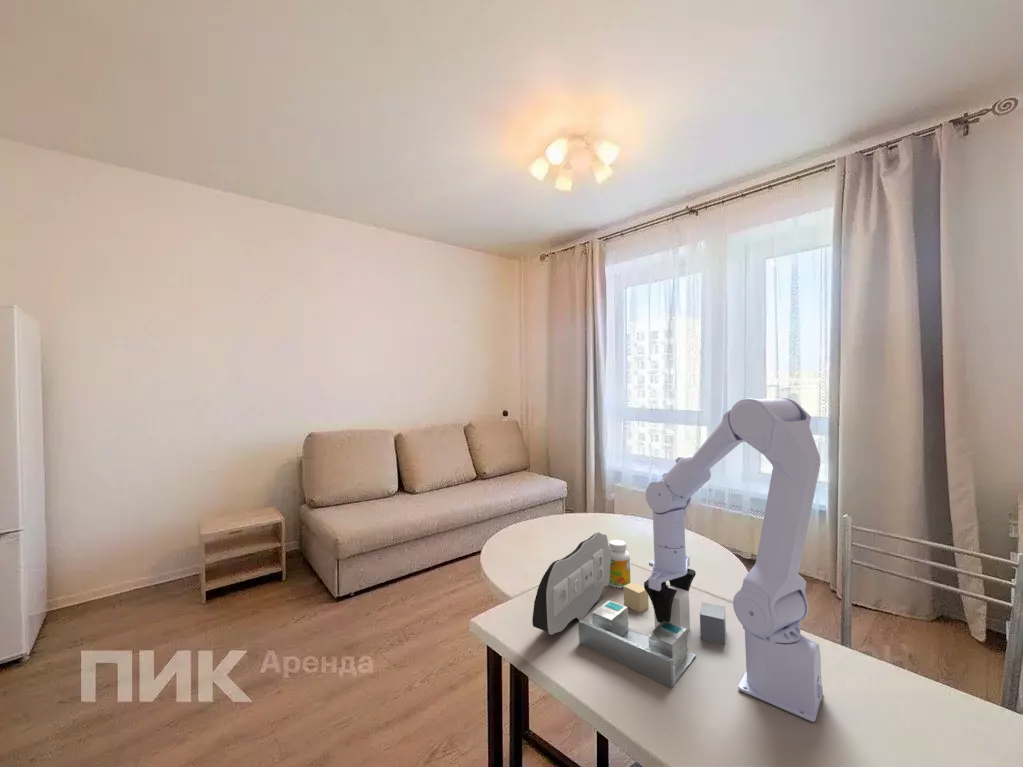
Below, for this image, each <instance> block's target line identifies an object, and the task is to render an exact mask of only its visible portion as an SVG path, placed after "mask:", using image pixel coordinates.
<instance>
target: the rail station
mask: <svg viewBox="0 0 1023 767" xmlns="http://www.w3.org/2000/svg"><path fill="white" fill-rule="evenodd" d="M628 609H629V607H628V606H626V605H624V604H621V603H618V602H615V601H612V600H606V602H604V603H603V604H602V605H600V606H599V607H597V608H596V609H594V610H593V611H591V617H592V618H591V619H592V623H590V622H587V621H585V620H583V619H582V620H578V644H579V645H582V646H583V647H585V648H587V649H589V650H592V651H593V652H596V653H597V654H600V655H602V656H603V657H606V658H608V659H610V660H613V661H614V662H616V663H618V664H620V665H622V666H625V667H627V668H629V669H631V670H633V671H635V672H637V673H638V674H641V675H643V676H645V677H648V678H650V679H651V680H654V681H656V682H658V683H659V684H662V685H665V686H666V687H668V688H670V689H673V687H674V686H675V685H676V684H677V682H678V681H679V680H680V679H681V677H682V676H683V674H684V673H685V672H686V671H687V669H688V668H689V667H690V665H691V664H692V663H693V662H694V660H695V659H696V656H697V655H696V654H693V653H692V652H688V635H687V634H688V633H687V632H688V631H687V629H686V628H683V627H680V626H678V625H675V624H672V623H669V622H667V621H663V622H662V623H660V624H659V625H658V626H657V627H656V628H655V627H654V629H653V630H652V631H651V632H650V633H649V634H645V633H642V632H639V631H638V630H635V629H633V628H630V627H629V610H628Z"/></svg>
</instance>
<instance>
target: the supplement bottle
mask: <svg viewBox="0 0 1023 767" xmlns="http://www.w3.org/2000/svg"><path fill="white" fill-rule="evenodd" d="M608 545H609V548H610V551H611V565H610V580H609V585H608V586H610V587H612V586H613V587H612V588H616V587H617V589H623V588H622V587H624V586H625V585H627V584H629V583H632V582H631V558H630V557H631V556H630V553H629V552H628V550H627V542H626V541H625V540H621V539H611V540H609V541H608Z"/></svg>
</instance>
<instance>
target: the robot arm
mask: <svg viewBox="0 0 1023 767" xmlns="http://www.w3.org/2000/svg"><path fill="white" fill-rule="evenodd" d="M811 418H812V417H811V415H810V414H809V413H808V412H807V411H806V410H805V409H804V408H803V407H802V406H801V405H800V404H799V403H798V402H797V401H796V400H794V399H792V398H789V397H786V396H778V397H773V398H751V397H750V398H749V397H748V398H743V399H740V400H738V401H737V402H736V403H735V404H734V405H732V407H731V409H729V410H728V411H727V412H725V413H724V414H723V416H722V420H721V422H720V423H719V424H718V426H717V427H716V429H714V431H713V432H712V433H711V434H710V435H709V436H708V437H707V439H706V440H705V441H704V442H703V443H702V445H701V446H700V447H699V448H698V449H697V451H696V452H695V453H694V454H692V455H691V454H685V455H682V456H678V457H677V458H676V459H675V463H676V464H674V465H673V467H672V468H670V470H669V471H668V472H665V473H663V474H662V475H661V476H662V478H661V480H659V481H656V480H655V481H651V482H650V483H649V484H648V485H647V487H646V490H645V500H646V503H647V505H648V507H649V509H650V510H652V528H653V530H652V531H653V554H654V555H653V556H654V557H653V558H654V559H651V560H649V561H648V566H650V567H652V569H651V574H650V575H649V576H648V579H647V580H645V581H644V582H643V587H644V589H645V590H646V592H647V593H648V598H650V602H651V604H652V607H653V611H655V615H656V618H657V621H658V622H660V623H662V622H663V621H667V622H669V623H670V619H671V608H672V602H673V599H674V596H675V594H676V592H677V590H674V589H671V588H668V585H670V586H673V587H676V588H680V589H683V590H686V591H689V592H690V589H691V586H692V582H693V581H694V579H695V577H696V574H697V573H696V571H695V569H692V568H689V567H690V566H691V565H690V564H691V563H690V559H691V558H690V556H689V555H687V554H686V529H685V528H686V526H685V525H686V524H685V518H686V517H687V509H688V507H689V506H690V505H691V502H692V497H693V495H694V494H695V493H696V492H698V491H699V490H700V489H701V488H702V487H703V486H705V484H707V482H708V481H709V480H711V474H712V473H711V469H712V468H713V467H714V466H715V465H716V464H718V463H719V462H720V461H721V460H723V458H724V457H726V456H727V455H728V454H730V452H732V451H733V450H734V449H735V448H736V447H738V446H739V445H740V444H741V443H746V444H748V445H749V446H751V447H752V448H753V449H755V451H758V452H759V453H760V454H761V455H763V456H764V457H765V458H766V460H767V461H768V462H769V463H770V464H771V466H772V471H771V478H770V481H769V487H768V493H767V497H766V498H767V499H766V504H765V510H764V515H763V520H762V526H761V531H760V538H759V543H758V548H757V554H756V560H755V564H754V565H753V566H752V568H751V569H750V570H749V571H748V573H746V575H745V577H744V578H743V580H742V581H743V582H742V586H741V588H740V590H738V591H737V592H735V595H734V596H733V600H732V607H733V611H734V614H735V616H736V618H737V620H738V621H739V623H740V624H741V626H742V629H743V630H744V642H745V643H744V645H745V648H744V649H745V667H746V669H745V672H744V674H743V676H742V677H741V679H740V681H739V683H738V684H737V688H738V690H739V691H740V692H743V693H745V694H748V695H750V696H752V697H754V698H756V699H758V700H761V701H763V702H766V703H768V704H771V705H773V706H775V707H777V708H779V709H781V710H784V711H786V712H788V713H791V714H793V715H796V716H798V717H800V718H803V719H805V720H807V721H810V722H811V723H812V722H816V719H817V716H818V712H819V709H820V705H821V701H822V700H823V693H824V691H823V684H822V682H823V681H822V662H821V650H820V649H821V648H820V644H819V643H817V642H816V641H814V640H812V639H809V638H807V637H805V636H804V635H802V634H801V621H802V620H804V619H805V618H807V616H808V613H809V611H810V610H809V609H810V608H809V607H810V606H809V602H808V597H807V595H806V587H807V581H806V580H805V578H803V577H802V576H801V575H800V568H801V562H802V559H803V558H802V557H803V553H804V548H805V543H806V538H807V532H808V527H809V523H810V517H811V513H812V508H813V502H814V498H815V493H816V488H817V483H818V479H819V478H818V477H819V473H820V467H821V456H820V452H819V450H818V447H817V445H816V442H815V439H814V436H813V433H812V430H811V428H810V427H811V426H810V425H811V420H812V419H811ZM667 582H669V584H667ZM666 584H667V586H666Z"/></svg>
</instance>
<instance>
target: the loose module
mask: <svg viewBox="0 0 1023 767" xmlns="http://www.w3.org/2000/svg"><path fill="white" fill-rule="evenodd" d="M667 585H668V588H671V589H674V590H677V592H676V594H675V596H674V599H673V602H672V608H671V619H670V623H672V624H675V625H678V626H680V627H683V628H686V629H687V632H688V631H689V630H690V629H691V621H690V620H691V619H690V616H691V615H690V595H689V594H690V590H689V591H686V590H683V589H680V588H676V587H673V586H670V584H667V583H666V586H667ZM653 611H654V610H653ZM659 624H660V622H658V621H657V618H656V615H655V611H654V629H655V628H656V627H657V626H658V625H659Z"/></svg>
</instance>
